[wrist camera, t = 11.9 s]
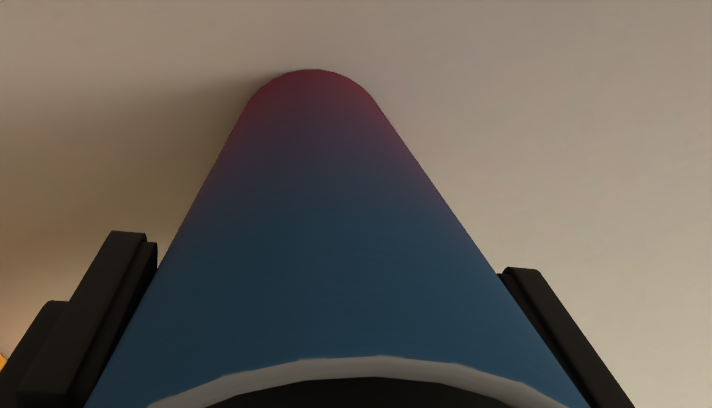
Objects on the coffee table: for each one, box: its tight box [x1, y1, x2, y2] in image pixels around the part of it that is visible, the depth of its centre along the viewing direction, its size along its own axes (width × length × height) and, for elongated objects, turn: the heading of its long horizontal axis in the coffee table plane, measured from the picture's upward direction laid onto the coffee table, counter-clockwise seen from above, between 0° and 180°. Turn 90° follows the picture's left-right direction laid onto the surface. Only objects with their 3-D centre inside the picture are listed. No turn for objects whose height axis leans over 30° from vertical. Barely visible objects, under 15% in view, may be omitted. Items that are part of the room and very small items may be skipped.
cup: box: [83, 69, 590, 408], centre depth 13 cm, size 7×7×15 cm
